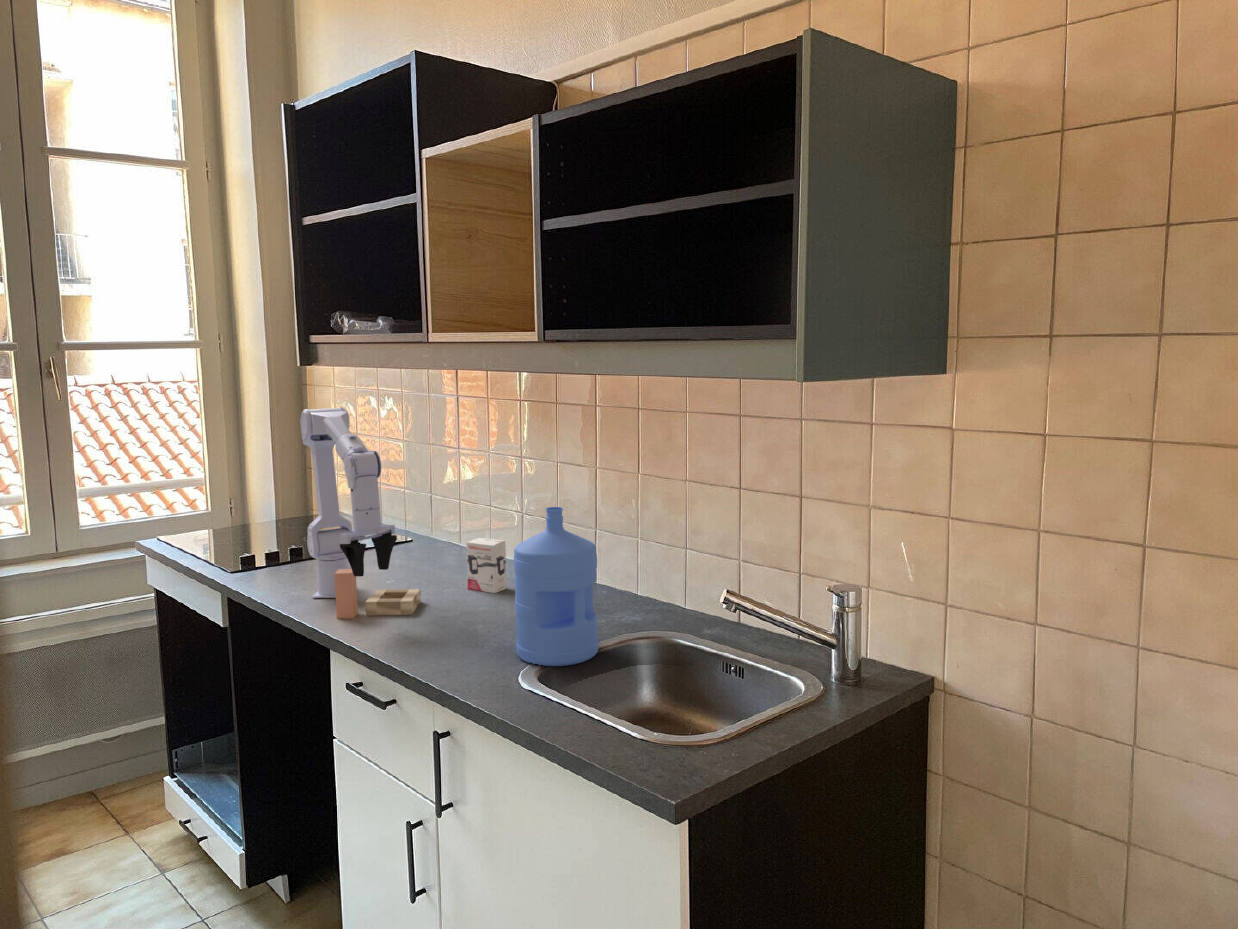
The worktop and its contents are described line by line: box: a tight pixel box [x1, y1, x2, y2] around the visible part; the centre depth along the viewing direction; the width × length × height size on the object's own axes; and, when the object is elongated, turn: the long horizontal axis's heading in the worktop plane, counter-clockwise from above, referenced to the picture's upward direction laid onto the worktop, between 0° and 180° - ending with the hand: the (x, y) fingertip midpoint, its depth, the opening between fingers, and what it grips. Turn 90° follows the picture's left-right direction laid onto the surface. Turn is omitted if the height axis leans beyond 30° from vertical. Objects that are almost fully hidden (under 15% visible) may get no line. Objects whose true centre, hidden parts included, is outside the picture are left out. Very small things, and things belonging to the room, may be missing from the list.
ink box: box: [466, 537, 508, 594], centre depth 221 cm, size 8×5×12 cm, turn 60°
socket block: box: [364, 588, 422, 616], centre depth 207 cm, size 10×10×3 cm
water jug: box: [513, 506, 600, 667], centre depth 174 cm, size 16×16×28 cm
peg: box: [334, 569, 359, 619], centre depth 201 cm, size 4×4×10 cm
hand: (371, 572), depth 196 cm, fingers open, 7 cm apart
